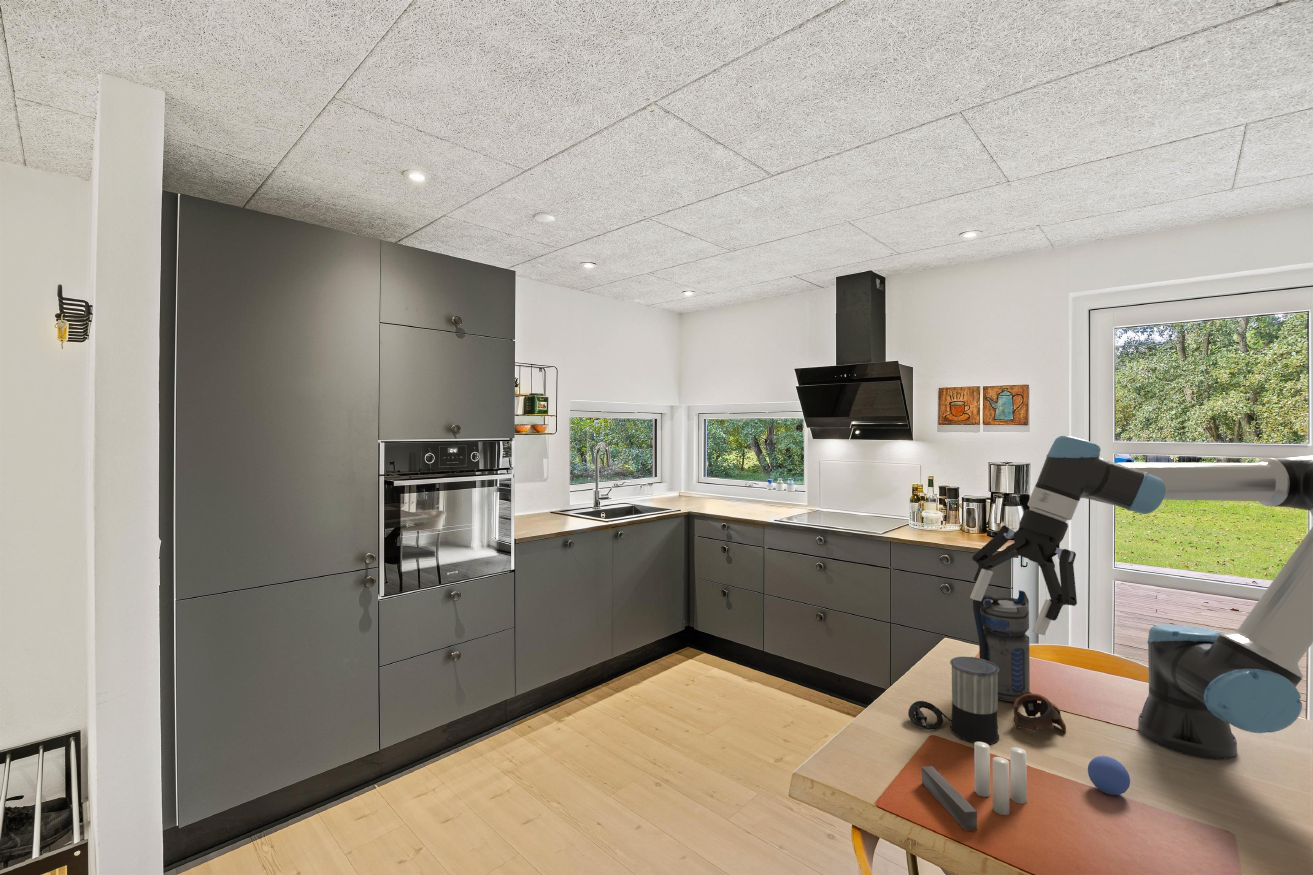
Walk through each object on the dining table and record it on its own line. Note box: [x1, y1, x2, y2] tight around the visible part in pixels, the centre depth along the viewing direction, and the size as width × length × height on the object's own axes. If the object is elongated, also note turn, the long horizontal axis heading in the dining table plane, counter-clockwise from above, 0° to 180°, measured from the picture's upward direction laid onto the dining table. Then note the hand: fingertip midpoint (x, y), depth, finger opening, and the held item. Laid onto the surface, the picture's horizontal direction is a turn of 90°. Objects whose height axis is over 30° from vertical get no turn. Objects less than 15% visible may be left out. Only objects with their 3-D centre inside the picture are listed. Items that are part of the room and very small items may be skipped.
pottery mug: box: [1012, 690, 1067, 734], centre depth 129 cm, size 12×10×8 cm
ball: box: [1087, 755, 1131, 796], centre depth 106 cm, size 6×6×6 cm
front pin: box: [1009, 746, 1028, 805], centre depth 104 cm, size 2×2×8 cm
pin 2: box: [992, 756, 1011, 816], centre depth 101 cm, size 2×2×8 cm
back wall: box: [921, 765, 978, 832], centre depth 103 cm, size 2×13×3 cm, turn 5°
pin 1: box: [973, 742, 991, 798], centre depth 106 cm, size 2×2×8 cm
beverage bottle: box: [972, 590, 1031, 703], centre depth 144 cm, size 10×13×25 cm
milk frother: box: [907, 656, 1000, 745], centre depth 128 cm, size 14×16×15 cm
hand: (1005, 615), depth 117 cm, fingers open, 13 cm apart
